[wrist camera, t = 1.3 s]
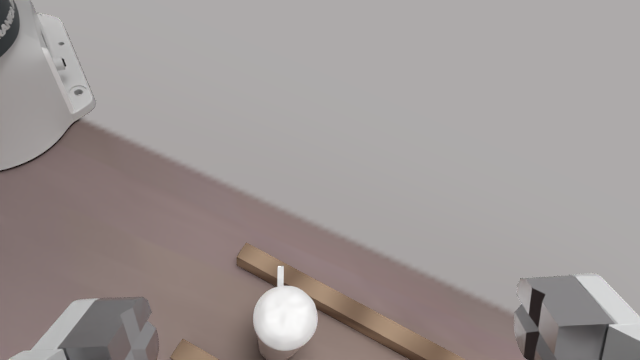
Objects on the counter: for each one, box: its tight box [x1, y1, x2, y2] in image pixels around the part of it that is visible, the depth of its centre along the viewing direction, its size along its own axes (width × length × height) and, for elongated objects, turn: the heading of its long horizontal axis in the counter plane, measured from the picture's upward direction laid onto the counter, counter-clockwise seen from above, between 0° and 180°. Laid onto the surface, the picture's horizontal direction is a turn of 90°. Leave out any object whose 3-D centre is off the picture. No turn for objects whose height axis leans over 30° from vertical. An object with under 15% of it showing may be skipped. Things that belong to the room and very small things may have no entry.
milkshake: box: [253, 266, 318, 360], centre depth 34 cm, size 5×5×10 cm
